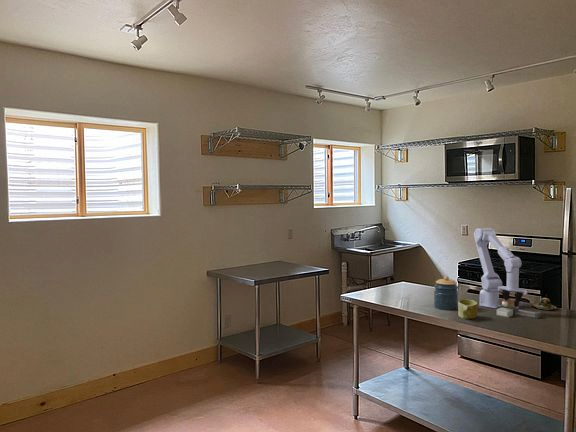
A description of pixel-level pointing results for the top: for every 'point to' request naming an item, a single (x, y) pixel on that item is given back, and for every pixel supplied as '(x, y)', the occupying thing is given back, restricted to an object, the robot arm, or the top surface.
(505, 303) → the orange and white dome
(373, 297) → the top surface
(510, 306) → the carriage
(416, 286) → the top surface
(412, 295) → the top surface
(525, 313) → the rail
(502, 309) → the grey square block
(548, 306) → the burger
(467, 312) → the mug
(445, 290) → the canister
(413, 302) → the top surface
